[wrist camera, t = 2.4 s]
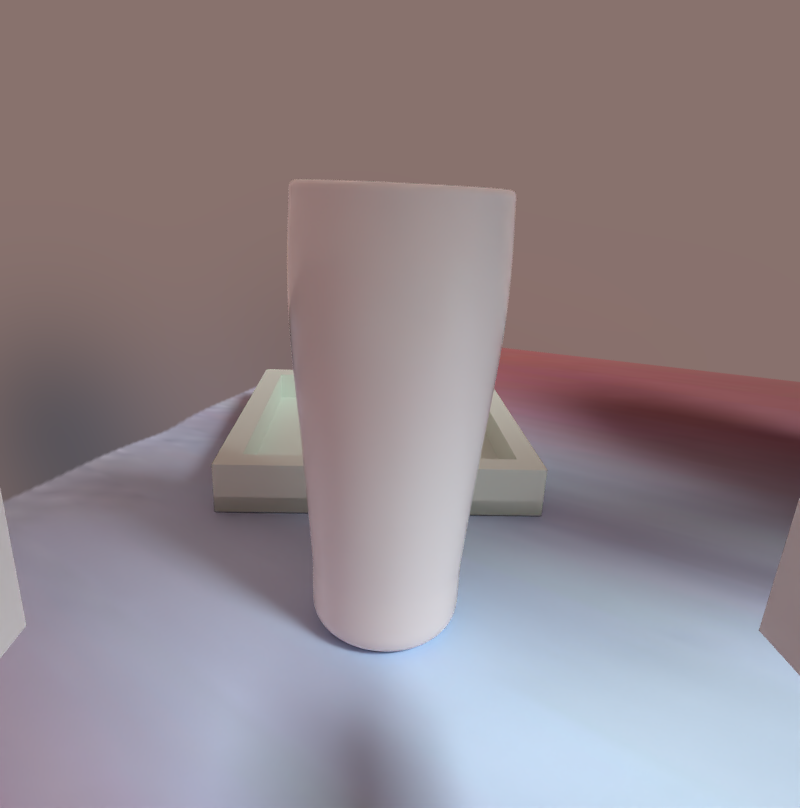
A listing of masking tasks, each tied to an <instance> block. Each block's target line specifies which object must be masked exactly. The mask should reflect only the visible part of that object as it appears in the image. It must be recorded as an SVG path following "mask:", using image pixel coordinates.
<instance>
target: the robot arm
mask: <svg viewBox="0 0 800 808" xmlns="http://www.w3.org/2000/svg"><path fill="white" fill-rule="evenodd" d="M25 627H26V621H25V616H24V610H23V605H22V600H21V595H20V589H19V584H18V579H17V573H16V568H15V563H14V558H13V552H12V547H11V542H10V536H9V531H8V526H7V520H6V515H5V510H4V505H3V499H2V494H1V489H0V658H1V657H2V656H3V654H4V653H5V652H6V651H7V649H8V648H9V647H10V646H11V644H12V643H13V642H14V641H15V639H16V638H17V637H18V636H19V634H20V633H21V632H22V631H23V629H24V628H25ZM759 631H760V632H761V633H762V634H763V635H764V637H765V638H766V639H767V640H768V641H769V642H770V643H771V644H772V645H773V646H774V648H775V649H776V650H777V651H778V652H779V653H780V654H781V655H782V656H783V657H784V658H785V660H786V661H787V662H788V663H789V664H790V665H791V666H792V667H793V668H794V669H795V671H796V672H797V673H798V674H799V675H800V498H799V501H798V504H797V507H796V511H795V514H794V517H793V520H792V524H791V527H790V530H789V534H788V537H787V540H786V543H785V547H784V550H783V553H782V556H781V560H780V563H779V566H778V569H777V573H776V576H775V579H774V582H773V586H772V589H771V592H770V596H769V599H768V602H767V605H766V609H765V612H764V615H763V618H762V622H761V625H760V628H759Z"/></svg>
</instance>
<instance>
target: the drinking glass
mask: <svg viewBox="0 0 800 808" xmlns="http://www.w3.org/2000/svg"><path fill="white" fill-rule="evenodd" d="M515 208H516V193H515V192H514V191H512V190H508V189H499V188H486V187H472V186H455V185H437V184H419V183H398V182H376V181H351V180H316V179H315V180H314V179H295V180H292V181H291V182H290V183H289V202H288V230H287V289H288V312H289V327H290V328H289V329H290V342H291V352H292V361H293V373H294V382H295V391H296V401H297V410H298V419H299V429H300V438H301V447H302V457H303V467H304V476H305V486H306V496H307V506H308V516H309V526H310V537H311V548H312V559H313V601H314V606H315V610H316V612H317V615H318V617H319V619H320V620H321V622H322V623H323V625H324V626H325V627H326V628H327V629H328V630H329V631H330V632H331V633H332V634H333V635H334V636H336V637H337V638H339V639H340V640H342V641H344V642H346V643H348V644H350V645H353V646H355V647H358V648H362V649H366V650H371V651H382V652H391V651H401V650H407V649H411V648H414V647H417V646H420V645H422V644H424V643H426V642H428V641H430V640H432V639H433V638H435V637H436V636H437V635H439V634H440V633H441V632H442V631H443V630H444V629H445V628H446V626H447V625H448V623H449V622H450V620H451V618H452V616H453V614H454V611H455V608H456V602H457V595H458V584H459V574H460V565H461V559H462V553H463V548H464V542H465V537H466V531H467V526H468V521H469V515H470V510H471V505H472V499H473V494H474V489H475V484H476V478H477V473H478V468H479V463H480V458H481V452H482V447H483V442H484V437H485V432H486V427H487V422H488V417H489V412H490V407H491V402H492V396H493V391H494V386H495V381H496V376H497V371H498V365H499V360H500V354H501V349H502V343H503V337H504V330H505V323H506V315H507V309H508V308H507V307H508V300H509V292H510V282H511V272H512V259H513V245H514V228H515Z"/></svg>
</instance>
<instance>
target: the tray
mask: <svg viewBox="0 0 800 808" xmlns="http://www.w3.org/2000/svg"><path fill="white" fill-rule="evenodd" d="M211 467H212V481H213V496H214V510H215V512H284V513H308V506H307V496H306V486H305V476H304V467H303V457H302V447H301V438H300V429H299V419H298V410H297V401H296V391H295V382H294V373H293V370H276V369H275V370H274V369H267V370H266V372H265V373H264V375H263V377H262V378H261V380H260V382H259V384H258V385H257V387H256V389H255V390H254V392H253V394H252V396H251V397H250V399H249V401H248V402H247V404H246V406H245V408H244V409H243V411H242V413H241V414H240V416H239V418H238V420H237V421H236V423H235V425H234V426H233V428H232V430H231V432H230V433H229V435H228V437H227V438H226V440H225V442H224V444H223V445H222V447H221V449H220V450H219V452H218V454H217V456H216V457H215V459H214V461H213V462H212V464H211ZM546 477H547V469H546V467H545V466H544V464H543V463H542V461H541V460H540V458H539V457H538V455H537V454H536V452H535V451H534V449H533V448H532V446H531V444H530V443H529V441H528V440H527V438H526V437H525V435H524V434H523V432H522V431H521V429H520V428H519V426H518V425H517V423H516V422H515V420H514V418H513V417H512V415H511V414H510V412H509V411H508V409H507V408H506V406H505V405H504V403H503V402H502V400H501V399H500V397H499V396H498V394H497V393H496V391H495V389H494V391H493V396H492V402H491V407H490V412H489V417H488V422H487V427H486V432H485V437H484V442H483V447H482V452H481V458H480V463H479V468H478V473H477V478H476V484H475V489H474V494H473V499H472V505H471V510H470V515H520V516H541V513H542V506H543V499H544V492H545V485H546Z"/></svg>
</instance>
